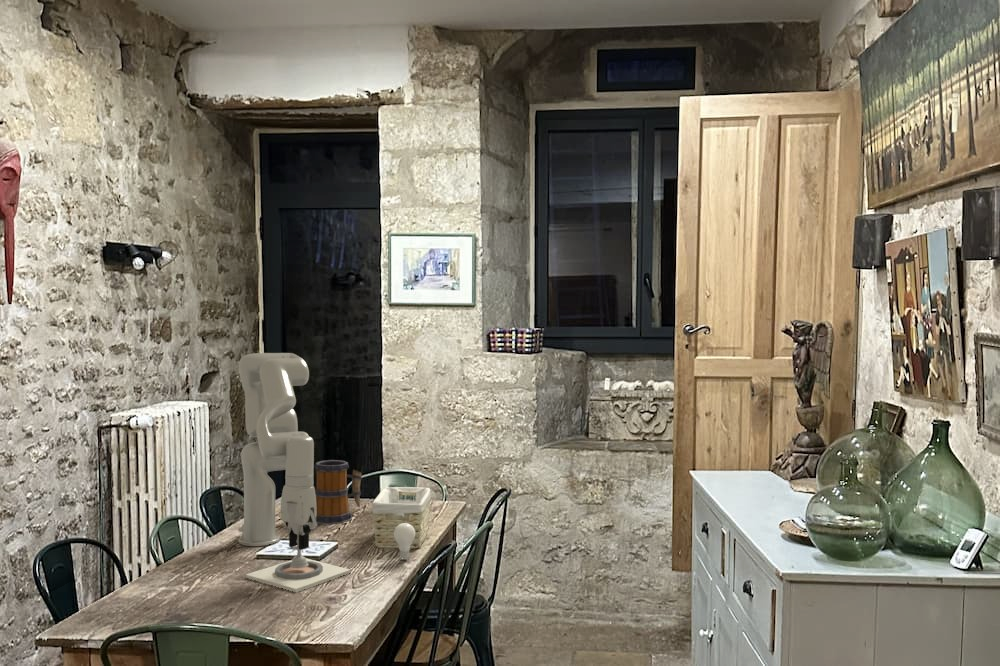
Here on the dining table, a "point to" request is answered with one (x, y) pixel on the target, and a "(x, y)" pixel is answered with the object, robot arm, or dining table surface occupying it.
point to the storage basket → (400, 515)
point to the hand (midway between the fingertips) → (299, 546)
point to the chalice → (299, 559)
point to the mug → (335, 491)
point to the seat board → (298, 575)
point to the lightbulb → (404, 539)
